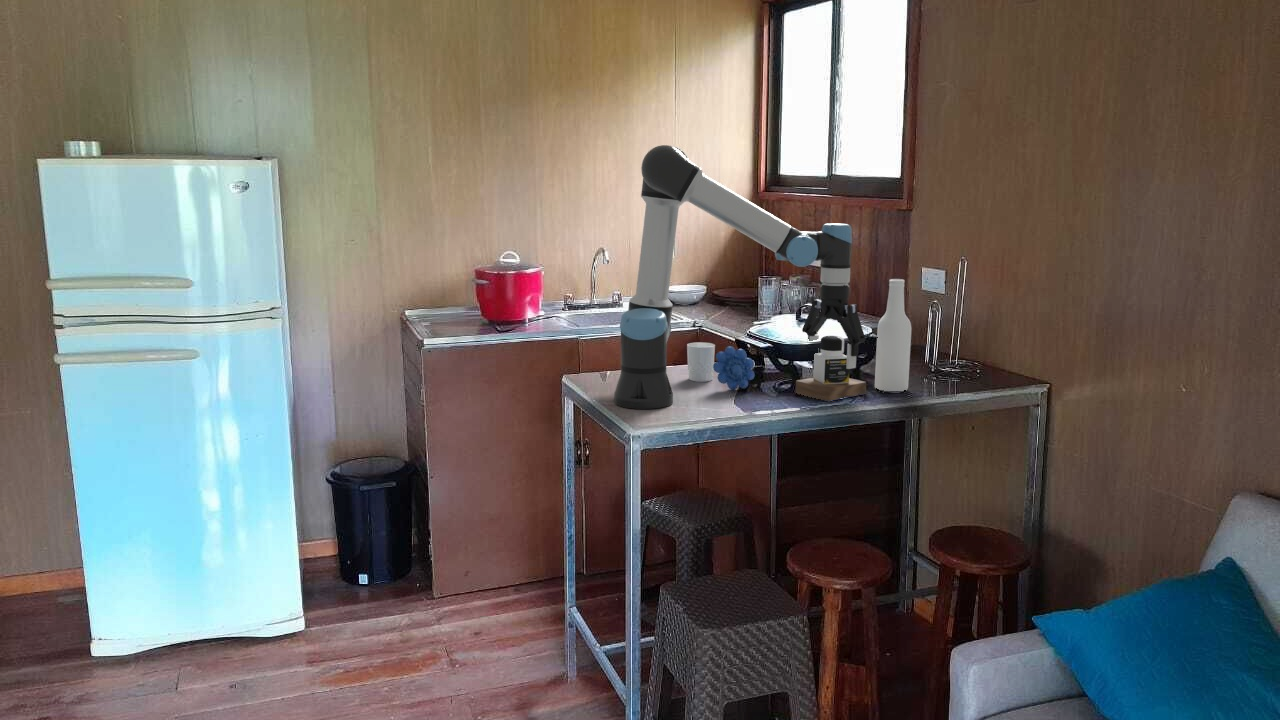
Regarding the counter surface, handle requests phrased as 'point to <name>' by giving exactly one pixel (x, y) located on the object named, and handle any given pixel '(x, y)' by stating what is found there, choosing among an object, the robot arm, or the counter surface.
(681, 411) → the counter surface
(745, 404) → the counter surface
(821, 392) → the base block
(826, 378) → the medicine bottle
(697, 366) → the white cup
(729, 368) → the blue flower
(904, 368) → the alcohol
